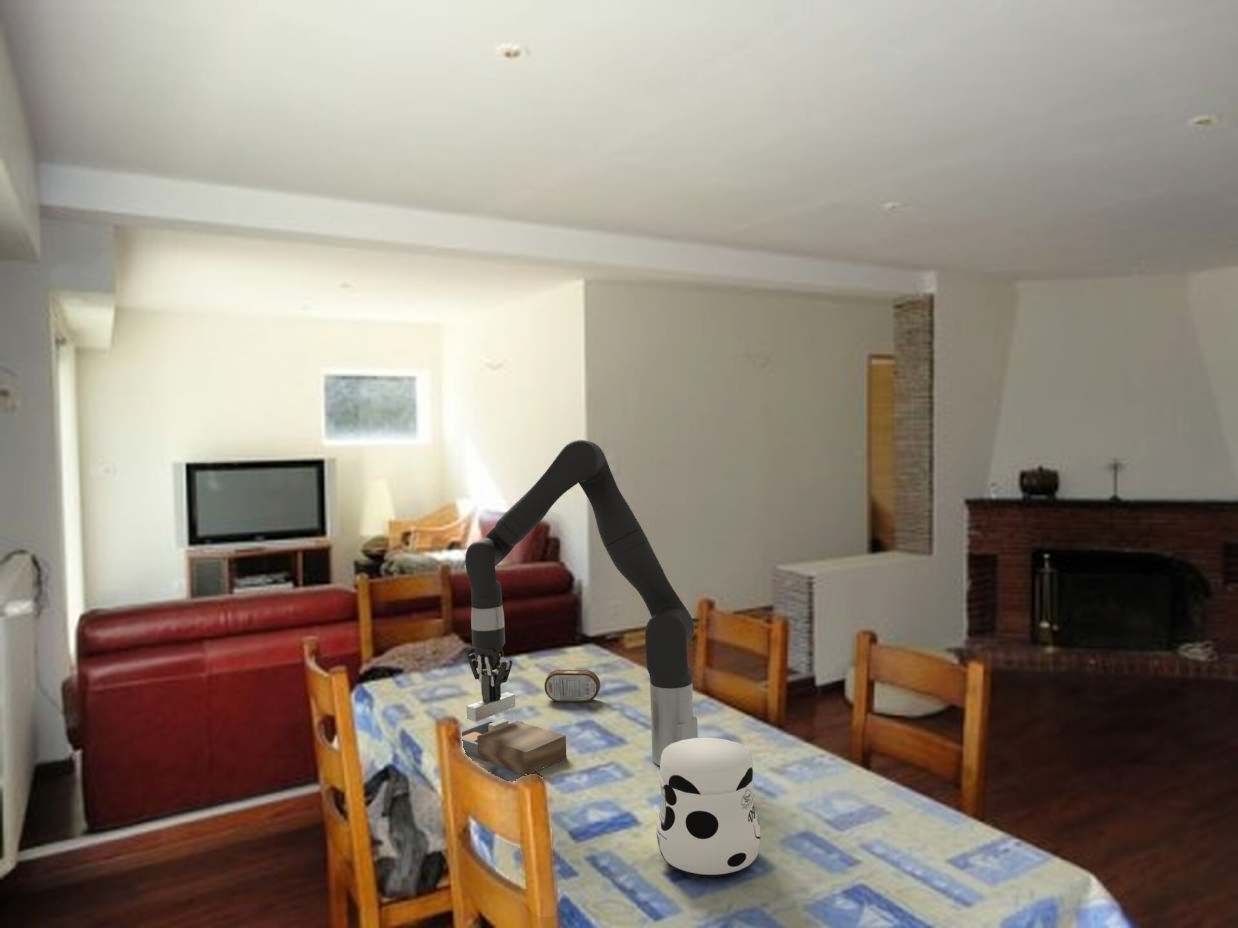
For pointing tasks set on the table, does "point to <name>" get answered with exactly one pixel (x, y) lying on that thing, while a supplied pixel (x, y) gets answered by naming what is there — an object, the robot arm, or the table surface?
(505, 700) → the scraper
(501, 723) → the sage tile
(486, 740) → the walnut block
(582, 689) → the tin
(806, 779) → the table surface
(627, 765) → the table surface
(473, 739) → the peach flat block
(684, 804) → the milk container
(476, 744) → the tray
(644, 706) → the table surface
